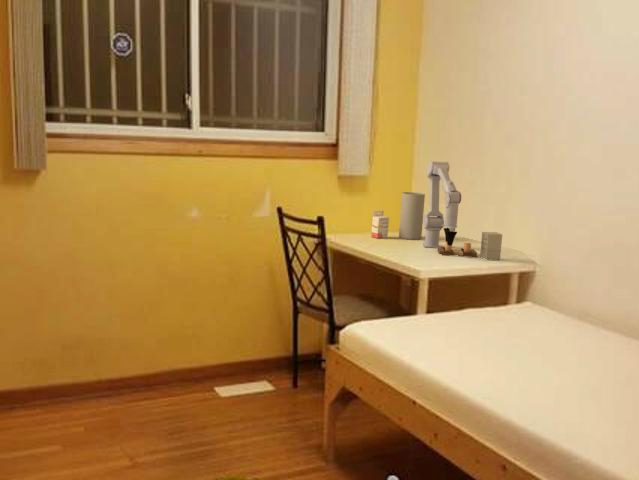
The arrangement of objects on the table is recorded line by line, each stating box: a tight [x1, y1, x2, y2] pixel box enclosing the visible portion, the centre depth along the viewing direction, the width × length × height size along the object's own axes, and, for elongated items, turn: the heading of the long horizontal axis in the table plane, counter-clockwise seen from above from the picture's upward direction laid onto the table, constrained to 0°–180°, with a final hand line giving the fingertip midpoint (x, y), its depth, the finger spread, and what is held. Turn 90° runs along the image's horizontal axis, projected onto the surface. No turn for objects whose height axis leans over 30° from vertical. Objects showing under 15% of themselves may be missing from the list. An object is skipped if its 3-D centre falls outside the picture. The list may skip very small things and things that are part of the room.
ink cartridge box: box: [370, 210, 390, 239], centre depth 372 cm, size 9×5×15 cm, turn 133°
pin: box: [463, 242, 472, 253], centre depth 330 cm, size 3×3×6 cm
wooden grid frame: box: [436, 246, 478, 258], centre depth 333 cm, size 12×18×2 cm, turn 85°
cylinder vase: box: [398, 191, 426, 241], centre depth 376 cm, size 12×12×25 cm
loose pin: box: [444, 241, 453, 251], centre depth 331 cm, size 3×3×6 cm
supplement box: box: [479, 231, 503, 260], centre depth 325 cm, size 7×7×13 cm
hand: (448, 244), depth 330 cm, fingers open, 7 cm apart
